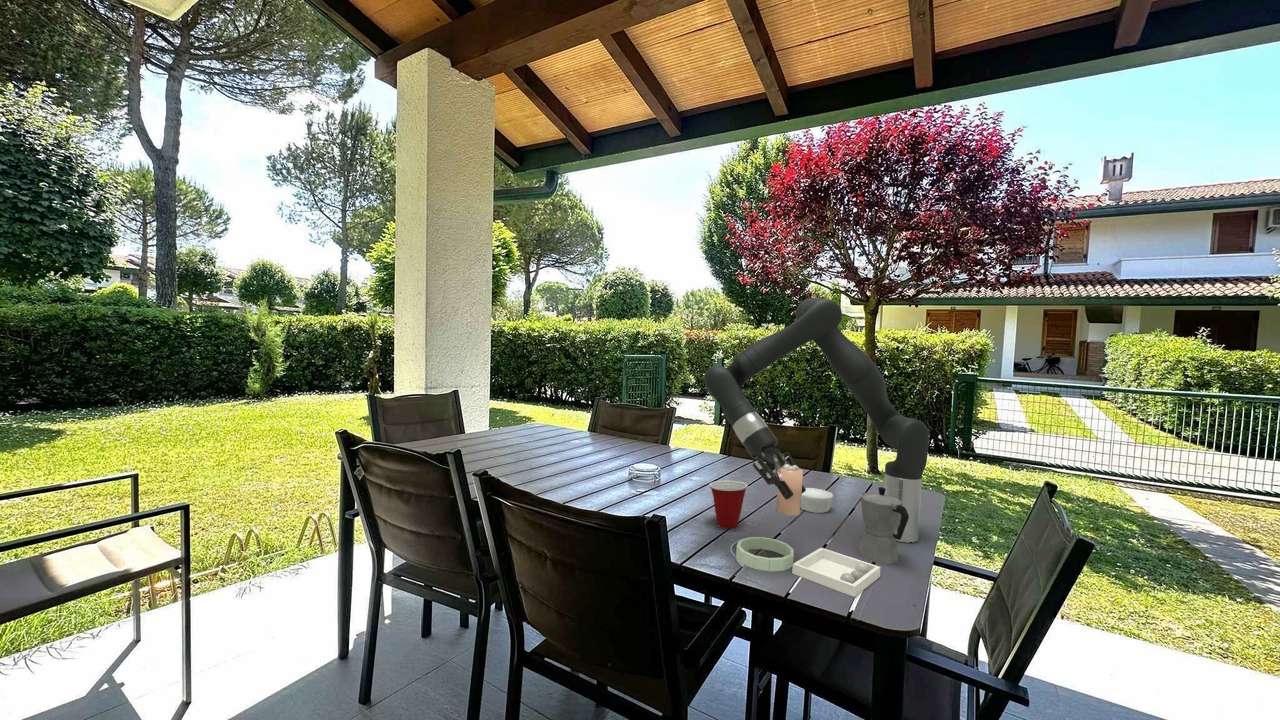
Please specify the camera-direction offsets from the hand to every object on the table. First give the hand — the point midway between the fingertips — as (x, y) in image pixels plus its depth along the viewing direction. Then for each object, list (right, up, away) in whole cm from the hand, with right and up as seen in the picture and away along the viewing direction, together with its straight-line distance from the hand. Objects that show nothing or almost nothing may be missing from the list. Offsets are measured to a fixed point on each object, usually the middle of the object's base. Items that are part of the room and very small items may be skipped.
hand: (796, 494), depth 120 cm
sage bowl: (-6, -17, +5) cm, 19 cm away
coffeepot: (+23, -18, +8) cm, 31 cm away
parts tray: (+8, -18, -3) cm, 20 cm away
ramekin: (+19, -17, +46) cm, 53 cm away
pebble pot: (-1, -4, +1) cm, 5 cm away
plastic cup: (-11, -16, +29) cm, 35 cm away
